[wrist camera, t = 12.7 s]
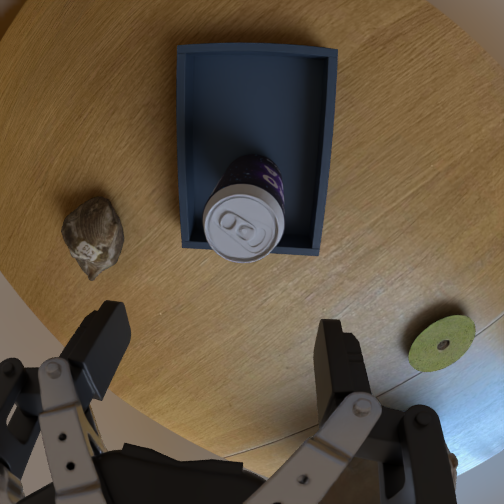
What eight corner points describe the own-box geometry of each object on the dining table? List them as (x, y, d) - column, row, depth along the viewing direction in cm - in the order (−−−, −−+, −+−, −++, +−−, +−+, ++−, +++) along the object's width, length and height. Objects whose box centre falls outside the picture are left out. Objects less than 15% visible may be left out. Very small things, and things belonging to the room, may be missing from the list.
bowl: (353, 474, 64) (358, 541, 46) (293, 438, 54) (292, 530, 37) (453, 432, 54) (473, 502, 37) (427, 381, 45) (458, 482, 27)
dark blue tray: (187, 50, 26) (176, 45, 23) (331, 54, 25) (338, 49, 22) (190, 232, 35) (181, 248, 32) (314, 240, 34) (318, 256, 31)
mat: (405, 371, 44) (408, 380, 42) (404, 320, 39) (408, 330, 37) (466, 350, 41) (470, 358, 40) (473, 297, 37) (479, 305, 35)
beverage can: (262, 217, 33) (255, 282, 22) (214, 188, 32) (183, 241, 21) (293, 172, 31) (303, 219, 20) (244, 141, 29) (225, 170, 19)
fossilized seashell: (98, 289, 37) (150, 240, 35) (60, 291, 30) (113, 234, 29) (76, 241, 38) (123, 191, 36) (39, 237, 32) (87, 179, 30)
